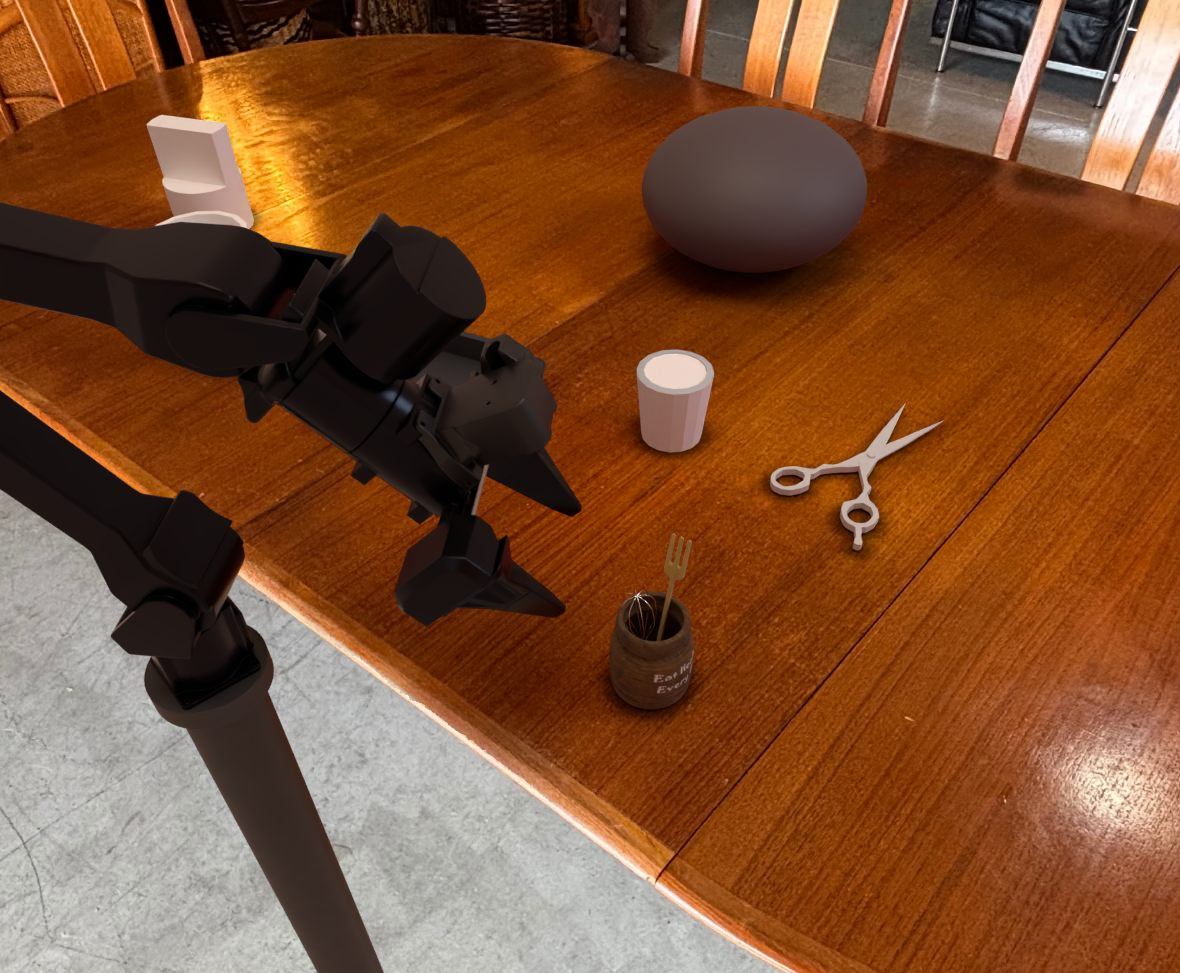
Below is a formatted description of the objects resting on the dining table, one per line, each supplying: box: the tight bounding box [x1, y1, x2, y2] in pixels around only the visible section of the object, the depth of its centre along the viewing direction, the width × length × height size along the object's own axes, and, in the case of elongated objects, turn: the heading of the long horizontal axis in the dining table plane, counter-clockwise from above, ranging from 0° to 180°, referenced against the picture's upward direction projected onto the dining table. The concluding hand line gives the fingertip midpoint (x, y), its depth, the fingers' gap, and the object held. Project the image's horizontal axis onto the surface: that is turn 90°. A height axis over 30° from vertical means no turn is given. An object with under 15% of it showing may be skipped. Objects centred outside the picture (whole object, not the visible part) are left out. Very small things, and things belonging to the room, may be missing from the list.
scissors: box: [769, 402, 945, 551], centre depth 88 cm, size 11×1×20 cm
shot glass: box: [636, 348, 715, 453], centre depth 89 cm, size 7×7×7 cm
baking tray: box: [411, 330, 531, 388], centre depth 95 cm, size 16×14×3 cm
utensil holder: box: [609, 532, 695, 710], centre depth 68 cm, size 6×6×12 cm
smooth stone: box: [641, 105, 868, 274], centre depth 109 cm, size 25×25×15 cm
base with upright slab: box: [146, 114, 255, 230], centre depth 116 cm, size 9×9×12 cm
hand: (569, 560), depth 64 cm, fingers open, 9 cm apart
